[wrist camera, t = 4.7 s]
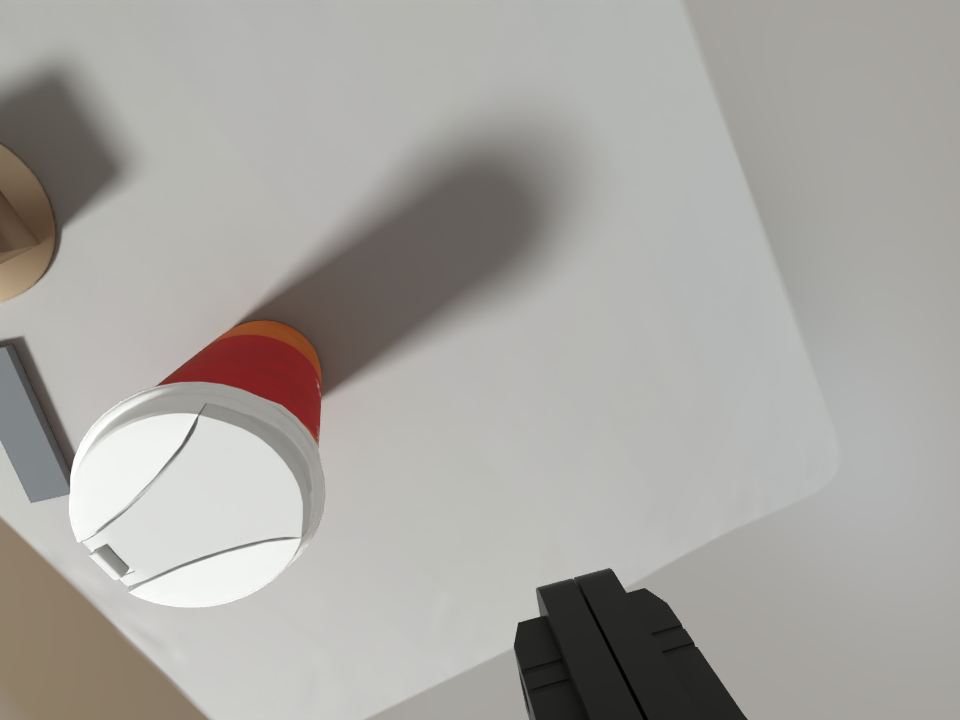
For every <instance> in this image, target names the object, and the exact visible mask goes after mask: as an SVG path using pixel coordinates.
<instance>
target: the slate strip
mask: <svg viewBox="0 0 960 720" xmlns="http://www.w3.org/2000/svg"><path fill="white" fill-rule="evenodd" d="M0 440H1V442H2V444H3V446H4V448H5V450H6V453H7V455H8V457H9V459H10V461H11V463H12V465H13V467H14V469H15V471H16V473H17V475H18V477H19V479H20V482H21V484H22V486H23V488H24V490H25V492H26V494H27V496H28V498H29V500H30V502H31V503H33V502H38V501H42V500H46V499H51V498H55V497H59V496H64V495H68V494H70V475H71V473H70V471H69V469H68V466H67V464H66V462H65V460H64V457H63V455H62V453H61V451H60V448H59V446H58V444H57V442H56V440H55V437H54V435H53V433H52V431H51V428H50V426H49V424H48V422H47V420H46V417H45V415H44V413H43V411H42V408H41V406H40V404H39V402H38V400H37V397H36V395H35V393H34V391H33V388H32V386H31V384H30V382H29V380H28V377H27V375H26V373H25V371H24V368H23V366H22V364H21V362H20V360H19V357H18V355H17V353H16V351H15V348H14V346H13V344H10V345H5V346H0Z"/></svg>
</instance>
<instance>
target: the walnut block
mask: <svg viewBox="0 0 960 720" xmlns="http://www.w3.org/2000/svg"><path fill="white" fill-rule="evenodd" d="M38 245H40V243H39V242H38V241H37V239H36V238H35V237H34V235H33V234H32V232H31V231H30V230H29V228H28V227H27V226H26V224H25V223H24V222H23V220H22V219H21V217H20V216H19V215H18V213H17V212H16V211H15V209H14V208H13V207H12V205H11V204H10V202H9V201H8V200H7V198H6V197H5V196H4V194H3V193H2V192H1V190H0V264H2V263H4V262H6V261H8V260H10V259H12V258H14V257H16V256H18V255H20V254H22V253H24V252H26V251H28V250H30V249H32V248H34V247H36V246H38Z"/></svg>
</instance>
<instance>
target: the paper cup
mask: <svg viewBox="0 0 960 720" xmlns="http://www.w3.org/2000/svg"><path fill="white" fill-rule="evenodd" d="M321 389H322V375H321V366H320V361H319V358H318V355H317V353H316V351H315V349H314V348H313V346H312V344H311V343H310V342H309V341H308V340H307V338H306V337H305V336H303V335H302V334H301V333H300V332H298V331H297V330H295V329H294V328H292V327H290V326H288V325H285V324H283V323H279V322H275V321H268V320H258V321H251V322H247V323H244V324H241V325H238V326H236V327H234V328H233V329H231V330H229V331H227V332H226V333H224V334H223V335H222V336H220V337H219V338H217V339H216V340H215V341H213V342H212V343H211V344H209V345H208V346H207V347H205V348H204V349H203V350H202V351H200V352H199V353H198V354H196V355H195V356H194V357H193V358H191V359H190V360H189V361H187V362H186V363H185V364H184V365H182V366H181V367H180V368H178V369H177V370H176V371H175V372H173V373H172V374H171V375H170V376H168V377H167V378H166V379H164V380H163V381H162V382H161V383H159V384H158V385H157V386H156V387H153V388H150V389H147V390H144V391H141V392H138V393H136V394H134V395H132V396H130V397H128V398H126V399H124V400H122V401H121V402H119V403H118V404H117V405H115V406H114V407H112V408H111V409H110V410H108V411H107V412H105V413H104V414H103V415H102V416H101V417H100V418H99V420H98V421H97V422H96V423H95V424H94V425H93V426H92V427H91V428H90V430H89V431H88V433H87V434H86V435H85V437H84V438H83V440H82V441H81V443H80V446H79V448H78V450H77V453H76V455H75V457H74V461H73V466H72V471H71V475H70V495H69V514H70V519H71V525H72V529H73V532H74V535H75V537H76V540H77V542H78V543H79V542H80V541H82V540H84V541H83V543H84V544H85V545H86V546H87V547H88V548H89V549H90V550H91V551H92V553H91V554H90V555H89V556H90V557H91V558H92V559H93V560H94V561H95V562H96V563H97V564H98V565H99V566H100V567H101V568H102V569H103V570H104V571H105V572H106V573H107V574H109V575H110V576H111V577H112V578H113V579H114V580H119V579H120V580H121V581H122V582H123V583H124V584H125V585H126V586H129V587H128V590H127V592H128V593H130V594H132V595H134V596H137V597H139V598H141V599H144V600H147V601H151V602H154V603H157V604H162V605H168V606H174V607H191V608H196V607H208V606H215V605H220V604H224V603H229V602H232V601H234V600H237V599H240V598H243V597H245V596H247V595H249V594H251V593H253V592H255V591H257V590H259V589H261V588H262V587H264V586H265V585H267V584H268V583H270V582H271V581H272V580H274V579H275V578H276V577H277V576H278V575H279V574H280V573H281V572H282V571H283V570H284V569H286V568H287V567H288V566H289V565H290V564H291V563H292V562H293V561H294V560H295V559H297V558H298V557H299V556H300V555H301V553H302V552H303V551H304V550H305V548H306V547H307V546H308V544H309V543H310V542H311V540H312V538H313V536H314V534H315V532H316V530H317V528H318V526H319V523H320V520H321V517H322V514H323V509H324V501H325V479H324V475H323V470H322V466H321V461H320V455H319V449H318V448H319V431H320V413H321Z"/></svg>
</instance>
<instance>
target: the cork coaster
mask: <svg viewBox="0 0 960 720" xmlns="http://www.w3.org/2000/svg"><path fill="white" fill-rule="evenodd" d="M0 190H1V192H2V193H3V194H4V196H5V197H6V198H7V200H8V201H9V202H10V204H11V205H12V207H13V208H14V209H15V211H16V212H17V213H18V215H19V216H20V217H21V219H22V220H23V222H24V223H25V224H26V226H27V227H28V228H29V230H30V231H31V232H32V234H33V235H34V237H35V238H36V239H37V241H38V242H39V243H40V245H38V246H36V247H34V248H32V249H30V250H28V251H26V252H24V253H22V254H20V255H18V256H16V257H14V258H12V259H10V260H8V261H6V262H4V263H2V264H0V303H1V302H4V301H7V300H9V299H12V298H14V297H16V296H18V295H20V294H22V293H23V292H25V291H27V290H28V289H29V288H30V287H31V286H33V285H34V284H35V283H36V282H37V281H38V280H39V279H40V277H41V276H42V275H43V273H44V272H45V270H46V269H47V267H48V265H49V263H50V261H51V258H52V255H53V251H54V248H55V239H56V227H55V220H54V214H53V211H52V207H51V204H50V201H49V199H48V197H47V195H46V193H45V191H44V189H43V187H42V185H41V184H40V182H39V181H38V179H37V178H36V176H35V175H34V174H33V173H32V171H31V170H30V169H29V168H28V166H27V165H26V164H25V163H24V162H23V161H22V160H21V159H20V158H19V157H17V156H16V155H15V154H14V153H13V152H11V151H10V150H9V149H8V148H6V147H5V146H3V145H2V144H0Z"/></svg>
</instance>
